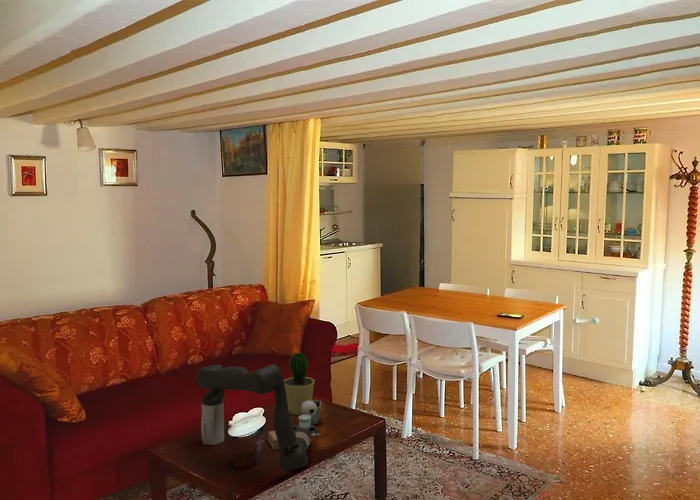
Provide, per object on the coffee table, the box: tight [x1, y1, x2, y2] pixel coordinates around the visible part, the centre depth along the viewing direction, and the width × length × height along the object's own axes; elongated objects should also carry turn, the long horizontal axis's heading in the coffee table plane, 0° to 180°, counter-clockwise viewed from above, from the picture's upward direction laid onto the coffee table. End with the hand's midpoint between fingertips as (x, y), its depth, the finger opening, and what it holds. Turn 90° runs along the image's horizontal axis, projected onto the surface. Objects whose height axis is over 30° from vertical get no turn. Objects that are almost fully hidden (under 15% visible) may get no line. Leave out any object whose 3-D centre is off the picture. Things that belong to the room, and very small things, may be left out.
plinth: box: [267, 430, 289, 451], centre depth 251 cm, size 10×10×4 cm
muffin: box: [228, 436, 259, 469], centre depth 232 cm, size 12×11×10 cm
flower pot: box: [302, 400, 322, 425], centre depth 274 cm, size 9×9×9 cm
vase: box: [297, 415, 312, 446], centre depth 250 cm, size 5×5×12 cm
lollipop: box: [301, 400, 317, 417], centre depth 261 cm, size 7×7×15 cm
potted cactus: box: [284, 352, 315, 416], centre depth 289 cm, size 15×15×30 cm
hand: (305, 424), depth 252 cm, fingers closed on vase, 4 cm apart
